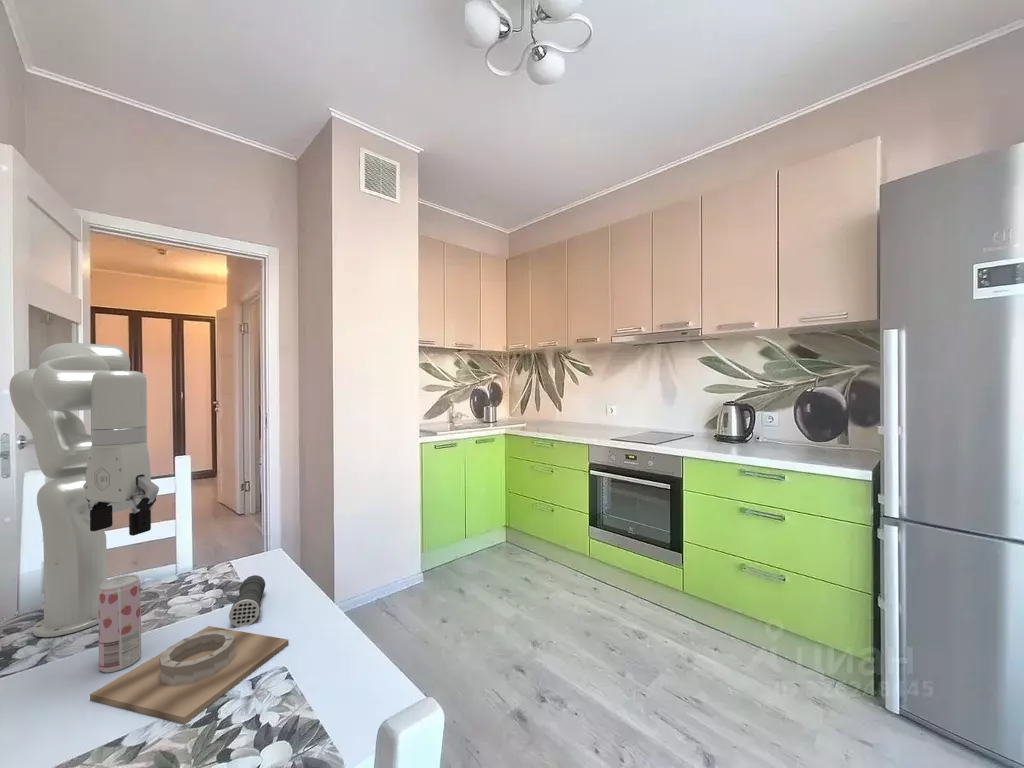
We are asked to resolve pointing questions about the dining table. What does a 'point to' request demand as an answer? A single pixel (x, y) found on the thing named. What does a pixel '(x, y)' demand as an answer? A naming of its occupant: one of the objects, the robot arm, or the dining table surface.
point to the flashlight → (247, 601)
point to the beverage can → (119, 623)
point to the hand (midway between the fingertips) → (120, 530)
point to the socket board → (189, 694)
